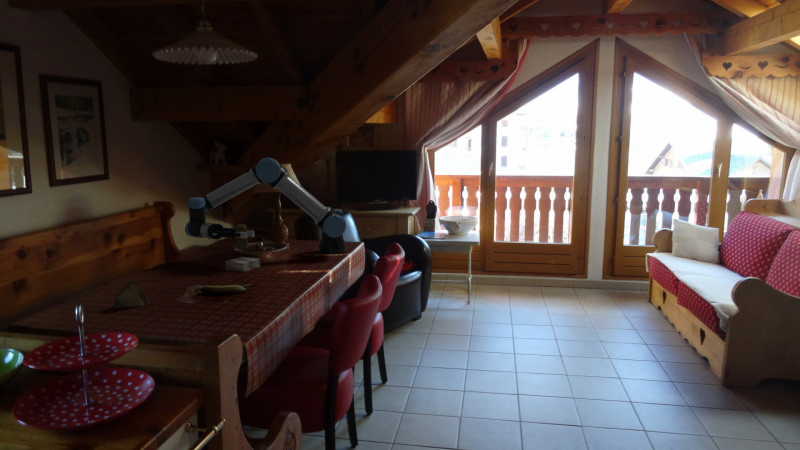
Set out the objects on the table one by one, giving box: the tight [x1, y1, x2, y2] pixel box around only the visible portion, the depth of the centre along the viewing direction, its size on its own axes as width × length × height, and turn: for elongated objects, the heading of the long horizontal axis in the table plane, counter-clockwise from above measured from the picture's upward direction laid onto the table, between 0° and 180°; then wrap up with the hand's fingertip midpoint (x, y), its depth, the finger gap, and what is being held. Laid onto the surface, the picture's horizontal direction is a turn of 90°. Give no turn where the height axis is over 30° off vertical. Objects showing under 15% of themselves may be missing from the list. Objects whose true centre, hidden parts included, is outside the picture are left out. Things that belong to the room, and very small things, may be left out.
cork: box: [234, 223, 249, 250], centre depth 252 cm, size 6×6×11 cm
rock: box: [112, 280, 150, 309], centre depth 196 cm, size 11×9×10 cm
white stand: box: [225, 256, 261, 273], centre depth 254 cm, size 11×11×4 cm
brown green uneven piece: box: [174, 283, 251, 304], centre depth 212 cm, size 35×27×4 cm
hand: (250, 234), depth 250 cm, fingers closed on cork, 4 cm apart
